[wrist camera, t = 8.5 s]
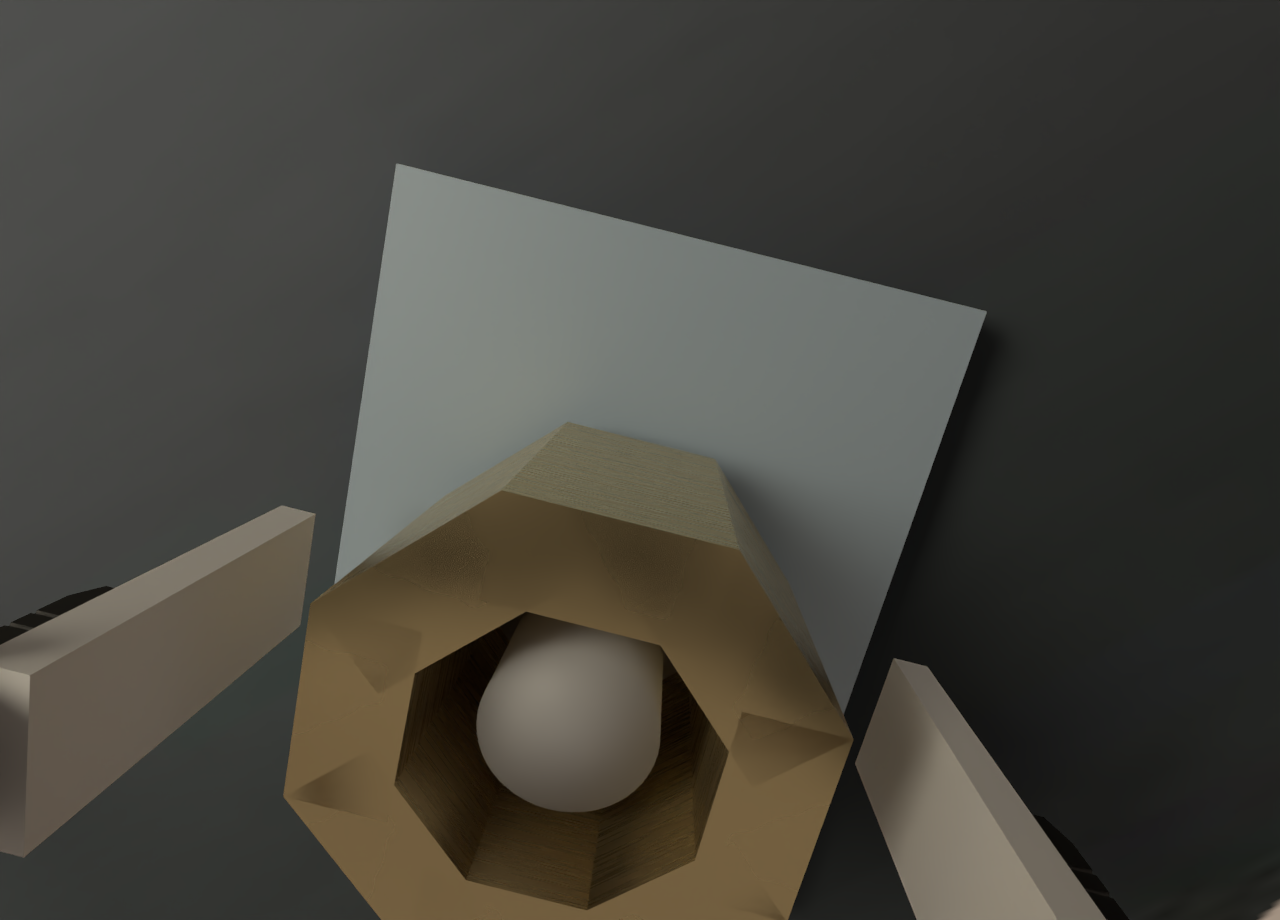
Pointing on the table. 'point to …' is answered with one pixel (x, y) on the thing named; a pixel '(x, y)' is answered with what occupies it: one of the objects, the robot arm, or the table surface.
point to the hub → (593, 597)
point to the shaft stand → (643, 431)
